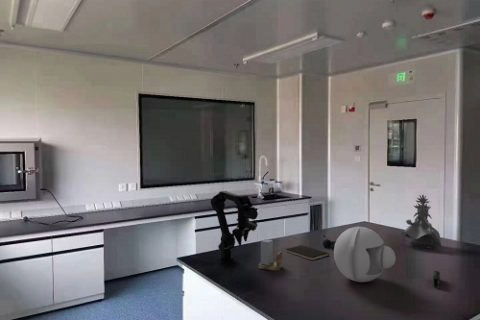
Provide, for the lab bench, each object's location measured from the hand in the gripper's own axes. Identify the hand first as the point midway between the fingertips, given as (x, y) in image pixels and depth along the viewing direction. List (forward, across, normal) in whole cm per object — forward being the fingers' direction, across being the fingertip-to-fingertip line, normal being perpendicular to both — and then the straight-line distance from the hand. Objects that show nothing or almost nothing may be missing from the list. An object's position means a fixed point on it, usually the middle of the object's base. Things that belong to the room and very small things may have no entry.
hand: (242, 243), depth 209 cm
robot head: (+13, -2, -67) cm, 68 cm away
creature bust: (+13, +77, -102) cm, 128 cm away
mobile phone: (+14, +6, -101) cm, 102 cm away
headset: (+14, +53, -47) cm, 72 cm away
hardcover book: (+14, +35, -31) cm, 49 cm away
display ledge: (+13, +2, -16) cm, 21 cm away
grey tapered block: (+11, +2, -14) cm, 18 cm away
